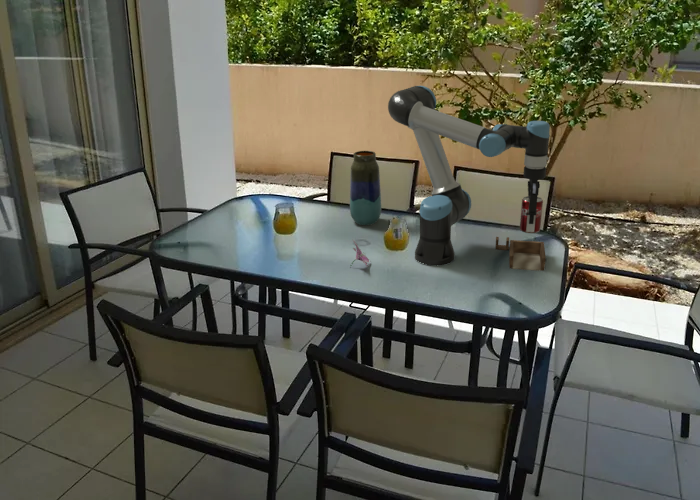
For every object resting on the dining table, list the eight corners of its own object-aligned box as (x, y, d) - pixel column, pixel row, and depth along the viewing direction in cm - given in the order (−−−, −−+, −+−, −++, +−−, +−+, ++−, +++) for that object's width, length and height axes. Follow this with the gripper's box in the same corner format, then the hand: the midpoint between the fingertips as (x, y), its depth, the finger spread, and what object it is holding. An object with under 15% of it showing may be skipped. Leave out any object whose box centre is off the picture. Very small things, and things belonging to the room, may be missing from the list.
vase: (382, 227, 272) (381, 157, 259) (350, 228, 272) (348, 157, 260) (381, 216, 284) (380, 148, 272) (350, 217, 285) (348, 149, 272)
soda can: (540, 234, 225) (543, 202, 220) (519, 233, 226) (522, 201, 221) (539, 227, 231) (542, 196, 226) (519, 226, 233) (521, 195, 228)
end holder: (509, 268, 230) (510, 255, 228) (509, 252, 243) (510, 239, 241) (544, 271, 227) (545, 257, 225) (542, 254, 241) (543, 242, 239)
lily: (360, 279, 227) (372, 256, 225) (334, 262, 231) (346, 240, 228) (371, 275, 238) (383, 254, 236) (346, 259, 242) (357, 238, 239)
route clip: (495, 249, 246) (496, 240, 245) (495, 246, 250) (496, 236, 248) (508, 250, 245) (509, 240, 244) (508, 246, 248) (509, 237, 247)
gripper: (547, 174, 209) (541, 238, 218) (544, 159, 227) (539, 218, 236) (524, 173, 211) (519, 237, 220) (523, 158, 229) (518, 217, 238)
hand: (529, 227), depth 228 cm, fingers closed on soda can, 7 cm apart
